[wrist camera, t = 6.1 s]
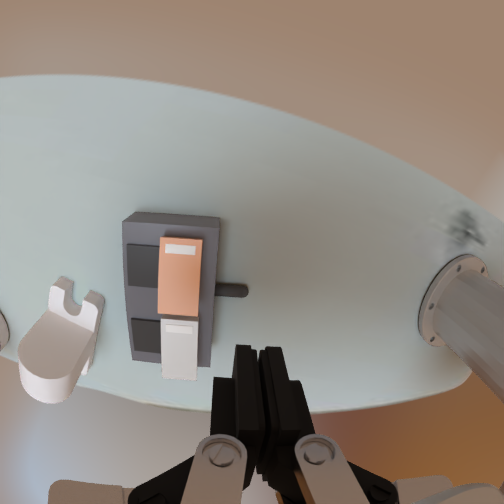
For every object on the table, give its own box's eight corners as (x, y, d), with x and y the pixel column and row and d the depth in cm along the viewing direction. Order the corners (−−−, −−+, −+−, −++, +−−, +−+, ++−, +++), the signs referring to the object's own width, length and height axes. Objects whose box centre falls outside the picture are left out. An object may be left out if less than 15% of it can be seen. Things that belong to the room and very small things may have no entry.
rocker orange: (202, 239, 20) (202, 240, 19) (198, 312, 20) (197, 316, 19) (162, 236, 19) (160, 237, 18) (160, 309, 20) (157, 313, 19)
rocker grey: (198, 317, 22) (198, 321, 21) (197, 374, 22) (196, 381, 21) (162, 314, 21) (160, 318, 20) (163, 371, 22) (162, 378, 21)
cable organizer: (105, 296, 24) (63, 364, 15) (91, 366, 27) (63, 432, 17) (60, 274, 23) (4, 329, 14) (52, 346, 26) (15, 406, 16)
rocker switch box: (256, 220, 24) (263, 232, 20) (240, 345, 28) (244, 370, 24) (135, 211, 22) (121, 222, 19) (140, 337, 26) (131, 362, 23)
